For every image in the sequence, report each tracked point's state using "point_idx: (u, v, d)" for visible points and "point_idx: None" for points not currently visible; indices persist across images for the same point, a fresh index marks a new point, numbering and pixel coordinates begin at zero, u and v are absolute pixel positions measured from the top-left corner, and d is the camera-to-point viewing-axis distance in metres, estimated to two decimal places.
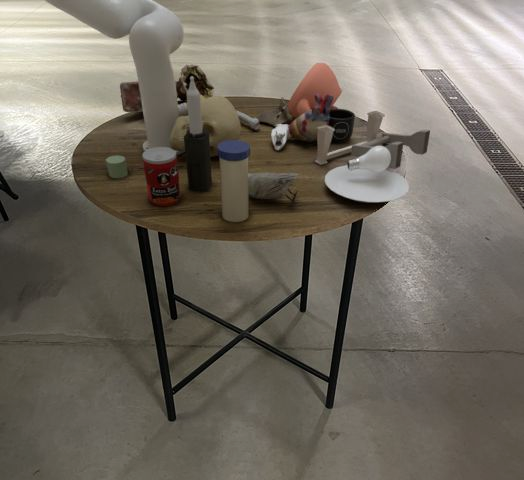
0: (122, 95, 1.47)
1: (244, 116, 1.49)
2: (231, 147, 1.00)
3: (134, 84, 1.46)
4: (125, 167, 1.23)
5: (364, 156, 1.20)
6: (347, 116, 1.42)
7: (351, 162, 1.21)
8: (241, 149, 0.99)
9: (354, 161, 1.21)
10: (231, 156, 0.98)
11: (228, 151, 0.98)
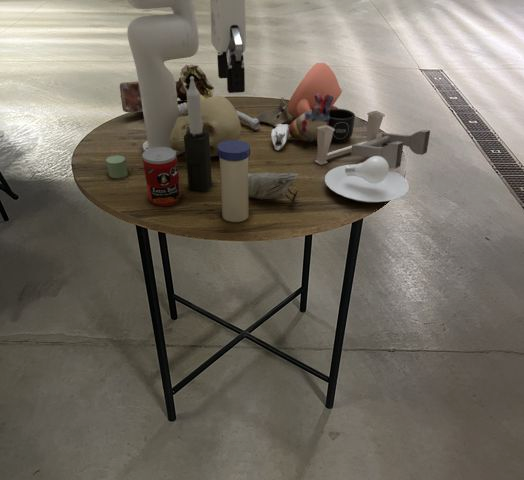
0: (122, 95, 1.47)
1: (244, 116, 1.49)
2: (231, 147, 1.00)
3: (134, 84, 1.46)
4: (125, 167, 1.23)
5: (360, 177, 1.18)
6: (347, 116, 1.42)
7: (349, 175, 1.20)
8: (241, 149, 0.99)
9: (352, 175, 1.20)
10: (231, 156, 0.98)
11: (228, 151, 0.98)
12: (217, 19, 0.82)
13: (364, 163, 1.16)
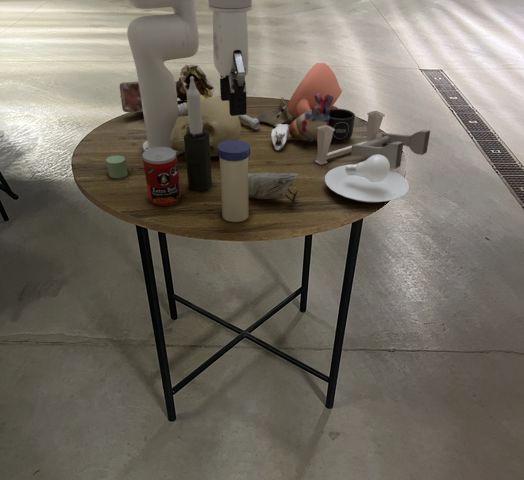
0: (122, 95, 1.47)
1: (244, 116, 1.49)
2: (231, 147, 1.00)
3: (134, 84, 1.46)
4: (125, 167, 1.23)
5: (361, 175, 1.18)
6: (347, 116, 1.42)
7: None
8: (241, 149, 0.99)
9: (352, 174, 1.20)
10: (231, 156, 0.98)
11: (228, 151, 0.98)
12: (220, 44, 0.83)
13: (366, 160, 1.16)
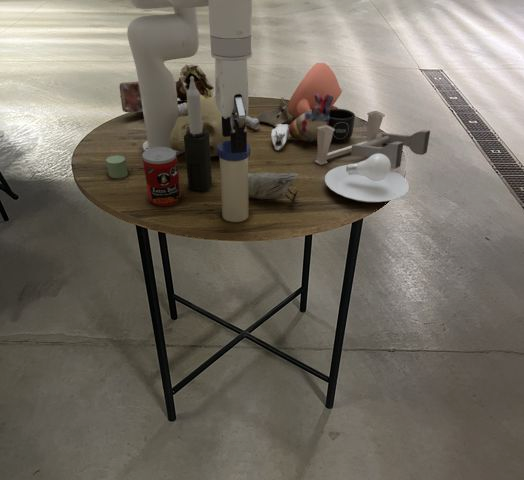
0: (122, 95, 1.47)
1: None
2: None
3: (134, 84, 1.46)
4: (125, 167, 1.23)
5: (362, 172, 1.18)
6: (347, 116, 1.42)
7: (350, 173, 1.20)
8: None
9: (353, 173, 1.20)
10: (231, 156, 0.98)
11: (228, 151, 0.98)
12: (222, 88, 0.88)
13: (368, 158, 1.17)
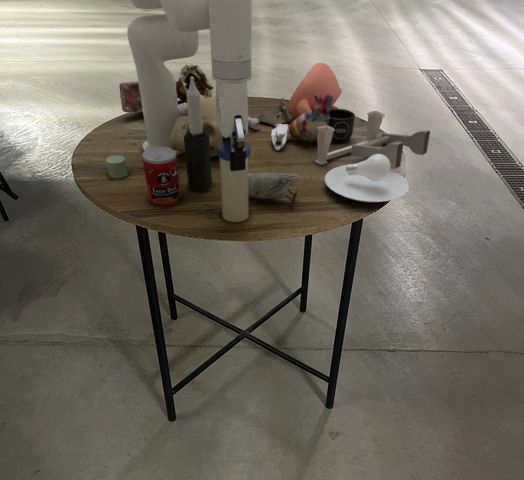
0: (121, 95, 1.47)
1: None
2: None
3: (133, 84, 1.46)
4: (125, 167, 1.23)
5: (362, 173, 1.18)
6: (347, 116, 1.42)
7: (350, 174, 1.20)
8: None
9: (352, 173, 1.20)
10: None
11: (228, 151, 0.98)
12: (222, 109, 0.91)
13: None
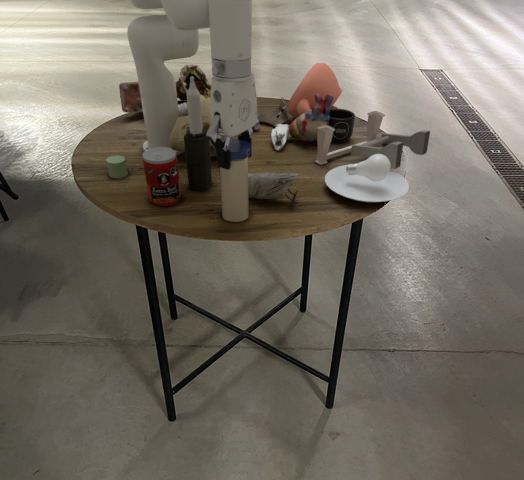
0: (121, 95, 1.47)
1: None
2: (237, 145, 1.00)
3: (133, 84, 1.46)
4: (125, 167, 1.23)
5: (362, 173, 1.18)
6: (347, 116, 1.42)
7: (350, 174, 1.20)
8: (234, 140, 1.01)
9: (352, 173, 1.20)
10: None
11: (246, 143, 1.00)
12: (254, 99, 0.95)
13: None
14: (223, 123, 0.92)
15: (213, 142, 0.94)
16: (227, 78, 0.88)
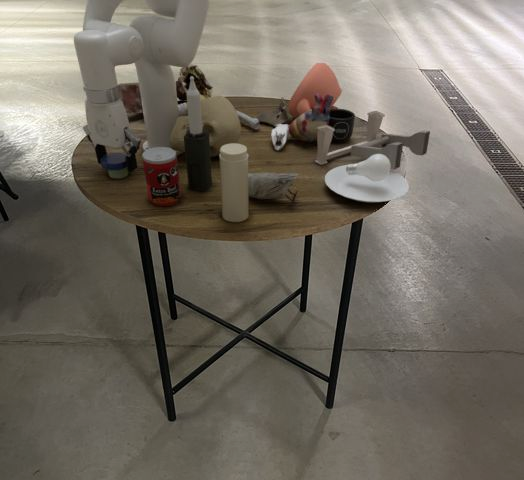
0: (120, 96, 1.47)
1: (244, 116, 1.49)
2: (114, 159, 1.21)
3: (132, 85, 1.45)
4: None
5: (362, 173, 1.18)
6: (347, 116, 1.42)
7: (350, 174, 1.20)
8: (123, 158, 1.22)
9: (352, 173, 1.20)
10: (121, 165, 1.21)
11: (117, 162, 1.20)
12: (112, 127, 1.13)
13: None
14: None
15: None
16: None
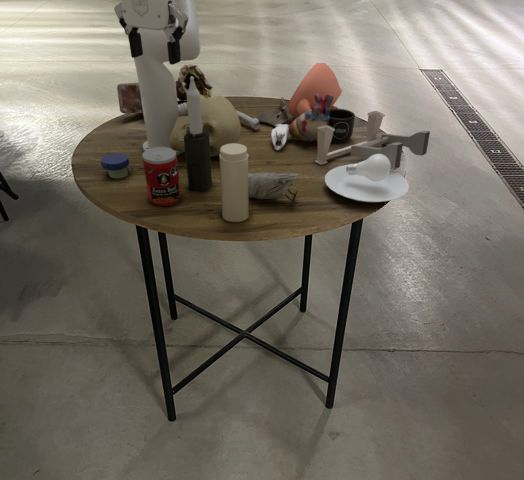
0: (119, 96, 1.46)
1: (244, 116, 1.49)
2: (114, 159, 1.21)
3: (131, 85, 1.45)
4: None
5: (362, 173, 1.18)
6: (347, 116, 1.42)
7: (350, 174, 1.20)
8: (123, 158, 1.22)
9: (352, 173, 1.20)
10: (121, 165, 1.21)
11: (117, 162, 1.20)
12: None
13: None
14: None
15: None
16: None
